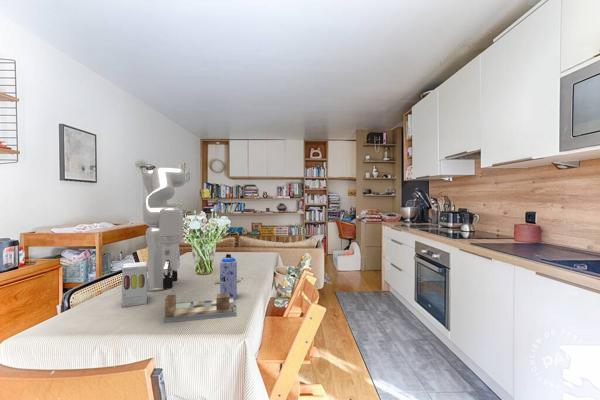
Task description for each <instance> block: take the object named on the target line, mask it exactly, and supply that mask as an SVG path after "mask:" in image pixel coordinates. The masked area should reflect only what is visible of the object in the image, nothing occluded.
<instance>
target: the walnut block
mask: <svg viewBox="0 0 600 400" xmlns="http://www.w3.org/2000/svg"><path fill="white" fill-rule="evenodd" d="M215 300H216V310H226V309H229V293H224V294H220V293H217V294H216V297H215Z"/></svg>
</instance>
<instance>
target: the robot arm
mask: <svg viewBox="0 0 600 400" xmlns="http://www.w3.org/2000/svg"><path fill="white" fill-rule="evenodd" d="M186 177H187V176H186V173H185V171H184V169H182V168H181V167H166V166H165V167H163V166H162V167H160V166H159V167H157V168H155V169H147V170H144V171H143V175H142V181H143V184H144V186H145V190H146V193H147V196H146V197H145V199H143V200H144V201H143V203H142V214H143V215H142V216H143V217H142V218H143V223H144V224H145V226H148V227H147V229H146V230H145V239H146V247H147V292H156V291H163V290H170V289H171V290H172V289H173V288H174V286H173V285H174V282H175V283H176V282H178V269H179V268H180V266H181V255H180V254H181V253H180V245H181V244H182V241H183V239H184V213H183V212H184V210H183V208H182V206H181V205H180V204H176V203H168V201H169V200H171V199H172V198H173V197H174V196H175V188H181V187H184V186H185V184H186V182H187V181H186V180H187V178H186Z"/></svg>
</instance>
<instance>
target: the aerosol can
mask: <svg viewBox="0 0 600 400" xmlns="http://www.w3.org/2000/svg"><path fill="white" fill-rule="evenodd" d="M237 268H238V261H237V259H236V258H235V257H233V256H232V254H231V253H226V254H225V257H224V258H222V259H221V260H219V283H220V284H219V294H224V293H229V299H233V298H235V300H236V299H237V298H238V290H237V289H238V287H237V286H238V283H237V281H238V269H237Z"/></svg>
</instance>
